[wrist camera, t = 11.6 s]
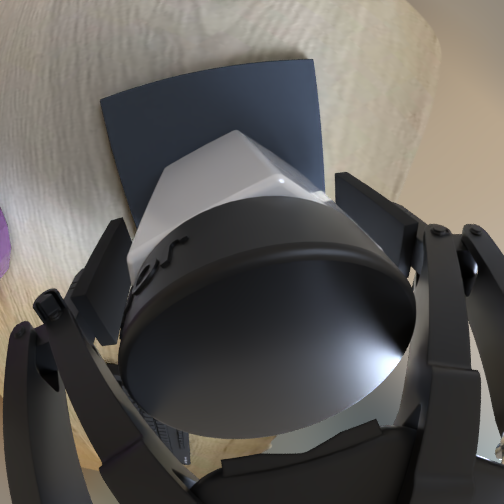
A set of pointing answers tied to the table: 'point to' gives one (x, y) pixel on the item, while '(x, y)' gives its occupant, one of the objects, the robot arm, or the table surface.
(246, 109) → the placemat
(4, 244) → the bowl
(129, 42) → the table surface
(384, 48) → the table surface
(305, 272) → the jar
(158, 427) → the keyboard
